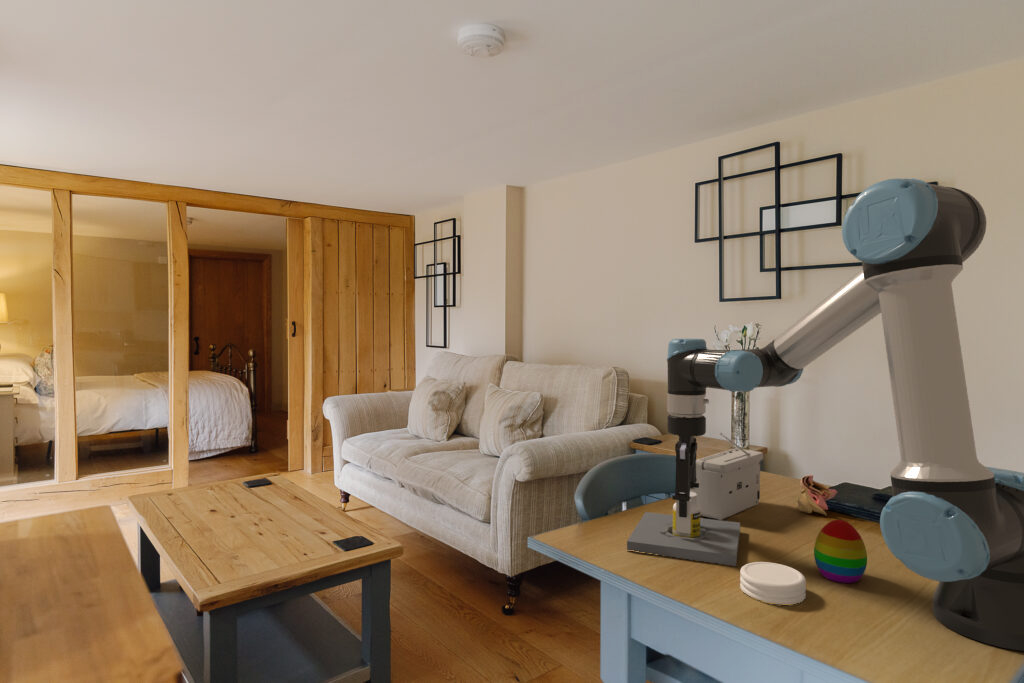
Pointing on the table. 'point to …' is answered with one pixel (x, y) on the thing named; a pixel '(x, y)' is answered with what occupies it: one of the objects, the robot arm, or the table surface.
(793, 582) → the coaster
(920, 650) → the table surface
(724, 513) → the stereo radio cassette player
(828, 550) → the decorative egg
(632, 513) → the table surface
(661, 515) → the holder plate
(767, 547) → the table surface
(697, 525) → the supplement bottle
